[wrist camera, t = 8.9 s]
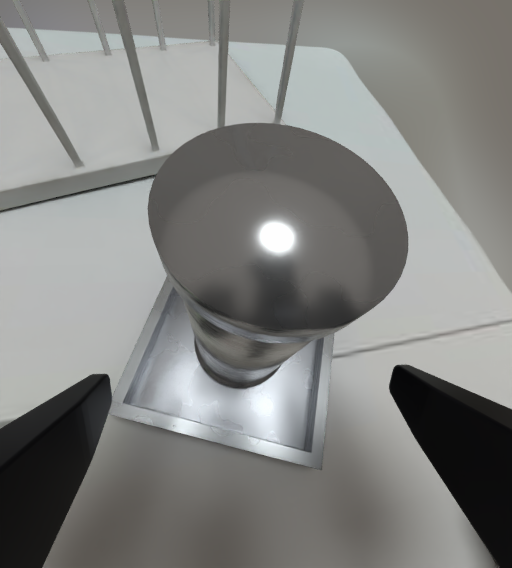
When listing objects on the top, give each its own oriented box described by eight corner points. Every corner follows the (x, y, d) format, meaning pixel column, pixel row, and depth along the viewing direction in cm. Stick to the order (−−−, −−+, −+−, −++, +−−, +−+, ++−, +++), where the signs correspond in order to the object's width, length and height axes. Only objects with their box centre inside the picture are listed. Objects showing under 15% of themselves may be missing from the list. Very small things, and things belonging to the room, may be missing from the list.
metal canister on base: (293, 380, 16) (455, 309, 5) (198, 396, 15) (146, 351, 4) (274, 296, 18) (357, 124, 7) (192, 304, 17) (148, 119, 6)
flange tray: (309, 463, 14) (321, 470, 13) (117, 412, 14) (104, 413, 13) (329, 291, 19) (339, 280, 18) (187, 252, 19) (184, 238, 18)
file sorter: (217, 59, 32) (217, -205, 18) (285, 148, 26) (360, -143, 13) (-26, 83, 25) (-339, -338, 11) (-8, 217, 19) (-651, -342, 5)
